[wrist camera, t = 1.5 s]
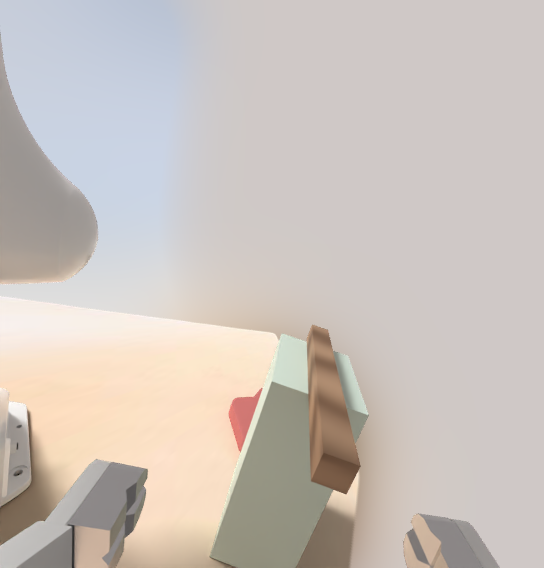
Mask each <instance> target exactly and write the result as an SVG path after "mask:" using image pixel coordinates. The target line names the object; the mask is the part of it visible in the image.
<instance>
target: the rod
mask: <svg viewBox="0 0 544 568" xmlns="http://www.w3.org/2000/svg"><path fill="white" fill-rule="evenodd" d="M307 367H308V402H309V437H310V473H311V482H314V483H317V484H320V485H322V486H325V487H328V488H330V489H333V490H336V491H339V492H341V493H344V494H347V492H348V490H349V488H350V486H351V484H352V482H353V480H354V478H355V476H356V474H357V472H358V470H359V468H360V462H359V458H358V454H357V449H356V445H355V441H354V437H353V433H352V429H351V424H350V420H349V416H348V412H347V408H346V404H345V399H344V395H343V391H342V387H341V383H340V379H339V374H338V370H337V366H336V362H335V358H334V353H333V349H332V345H331V341H330V337H329V333H328V330H326V329H323V328H321V327H317V326H315V325H312V326H311V329H310V332H309V334H308V337H307Z"/></svg>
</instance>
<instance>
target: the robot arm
mask: <svg viewBox="0 0 544 568" xmlns="http://www.w3.org/2000/svg"><path fill="white" fill-rule="evenodd" d="M97 241H98V226H97V220H96V217H95V214H94V211H93V209H92V207H91V205H90V204H89V202H88V200H87V199H86V197H85V196H84V195H83V194H82V192H81V191H80V190H79V189H78V188H77V187H76V186H74V185H73V184H72V183H71V182H70V181H69V180H68V179H67V178H66V177H65V176H64V175H63V174H62V173H61V172H60V171H59V170H58V169H57V168H56V167H55V166H54V165H53V164H52V162H51V161H50V160H49V159H48V157H47V156H46V155H45V154H44V152H43V151H42V150H41V148H40V147H39V146H38V144H37V142H36V141H35V139H34V138H33V136H32V134H31V133H30V131H29V130H28V128H27V126H26V124H25V122H24V120H23V118H22V116H21V114H20V112H19V110H18V107H17V105H16V103H15V100H14V98H13V95H12V92H11V89H10V86H9V83H8V80H7V75H6V71H5V66H4V60H3V52H2V43H1V34H0V284H28V283H49V282H63V281H65V280H67V279H69V278H71V277H72V276H74V275H75V274H76V273H78V272H79V271H80V270H81V269H82V268H83V267H84V266H85V265H86V264H87V263H88V261H89V260H90V258H91V257H92V255H93V253H94V251H95V248H96V245H97ZM147 473H148V469H145V468H140V467H135V466H130V465H125V464H120V463H115V462H109V461H104V460H98V459H96V460H94V461H93V462H92V463H91V464H89V465H88V467H87V468H86V469H85V471H84V472H83V473H82V474H81V476H80V477H79V478H78V479H77V481H76V482H75V483H74V484H73V486H72V487H71V488H70V490H69V491H68V492H67V493H66V495H65V496H64V497H63V498H62V500H61V501H60V502H59V503H58V505H57V506H56V507H55V509H54V510H53V511H52V512H51V514H50V515H49V516H48V517H47V519H46V520H45V521H37V522H36V523H34V524H33V525H31V526H30V527H28V528H26V529H25V530H23V531H22V532H20V533H19V534H17V535H16V536H14V537H13V538H11V539H9V540H8V541H6V542H5V543H3V544H2V545H0V568H116V566H117V564H118V562H119V560H120V557H121V555H122V553H123V550H124V538H126V537H127V536H128V535H129V534H130V533H131V532H133V530H134V528H135V526H136V523H137V521H138V519H139V516H140V514H141V511H142V508H143V505H144V501H145V496H146V489H145V487H144V486H143V485H144V483H145V481H146V479H147ZM17 474H20V475H18V476H15V475H17ZM30 483H31V463H30V446H29V430H28V415H27V406H26V405H25V404H22V403H18V402H11V401H9V391H7V390H6V389H4V388H0V507H1V506H3V505H4V504H6V503H7V502H9V501H10V500H12V499H13V498H15V497H16V496H18V495H19V494H20V493H22V492H23V491H24V490H25V489H27V488H28V486H29V485H30ZM411 523H412V525H413V529H412V530H410V531H409V532H407V533H406V536H405V539H404V542H403V543H404V557H405V561H406V564H407V568H500V567H499V566H498V564H497V562H496V561H495V559H494V558H493V556H492V555H491V553H490V552H489V550H488V549H487V547H486V546H485V544H484V543H483V541H482V539H481V538H480V536H479V535H478V533H477V532H476V531H475V529H474V528H473V526H472V525H470V524H469V523H468V522H466V521H460V520H454V519H448V518H444V517H438V516H430V515H424V514H416V515H414V516H413V518H412V521H411Z"/></svg>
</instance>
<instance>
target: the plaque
mask: <svg viewBox="0 0 544 568" xmlns="http://www.w3.org/2000/svg"><path fill="white" fill-rule="evenodd" d="M262 389H263V388H261V389H260V390H259V391H258V393H257V394H256V395H255V396H254V397H241V398H235V399H234V400H233V402H232V404H231V407H230V410H229V418H230V421H231V425H232V428H233V431H234V435H235V438H236V441H237V445H238V448H239V451H240V453H241V450H242V447H243V444H244V441H245V438H246V435H247V433H248V430H249V427H250V424H251V421H252V418H253V415H254V412H255V409H256V407H257V404H258V401H259V398H260V395H261V392H262Z"/></svg>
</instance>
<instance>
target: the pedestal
mask: <svg viewBox="0 0 544 568" xmlns="http://www.w3.org/2000/svg"><path fill="white" fill-rule="evenodd" d="M333 353H334V358H335V362H336V366H337V370H338V374H339V379H340V383H341V387H342V391H343V395H344V399H345V404H346V408H347V412H348V416H349V420H350V424H351V429H352V433H353V437H354V441H355V443H356V441H357V439H358V437H359V435H360V433H361V431H362V428H363V426H364V424H365V422H366V420H367V418H368V416H369V414H368V411H367V409H366V406H365V403H364V400H363V397H362V395H361V391H360V389H359V386H358V383H357V380H356V377H355V374H354V371H353V369H352V366H351V363H350V360H349V357H348V356H346V355H344V354H340V353H338V352H335V351H333ZM332 491H333V489H330V488H328V487H325V486H322V485H320V484H317V483H314V482H311V473H310V437H309V402H308V367H307V342H306V341H303V340H300V339H297V338H294V337H291V336H288V335H285V334H281V337H280V340H279V343H278V346H277V349H276V352H275V355H274V357H273V360H272V363H271V366H270V369H269V372H268V375H267V378H266V381H265V383H264V386H263V389H262V392H261V395H260V398H259V401H258V404H257V407H256V409H255V412H254V415H253V418H252V421H251V424H250V427H249V430H248V433H247V435H246V438H245V441H244V444H243V447H242V450H241V453H240V456H239V459H238V461H237V464H236V467H235V470H234V474H233V477H232V481H231V484H230V488H229V491H228V495H227V498H226V502H225V505H224V509H223V512H222V516H221V519H220V523H219V526H218V530H217V533H216V537H215V540H214V544H213V547H212V551H211V554H210V557H211V558H214V559H216V560H219V561H221V562H224V563H226V564H229V565H231V566H234V567H236V568H296V567H297V565H298V562H299V560H300V558H301V556H302V554H303V552H304V550H305V548H306V546H307V544H308V542H309V539H310V537H311V535H312V533H313V531H314V529H315V527H316V525H317V523H318V521H319V519H320V516H321V514H322V512H323V510H324V508H325V506H326V504H327V502H328V500H329V498H330V496H331V493H332Z"/></svg>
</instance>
